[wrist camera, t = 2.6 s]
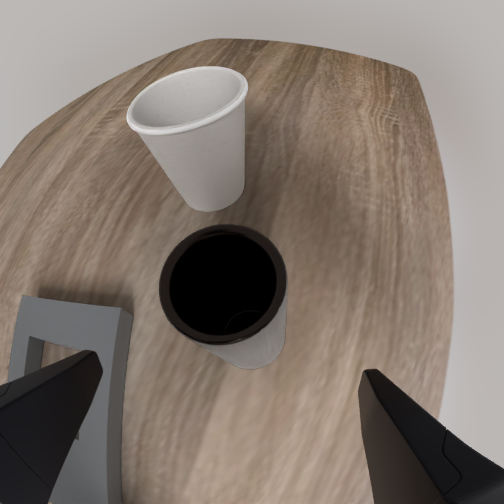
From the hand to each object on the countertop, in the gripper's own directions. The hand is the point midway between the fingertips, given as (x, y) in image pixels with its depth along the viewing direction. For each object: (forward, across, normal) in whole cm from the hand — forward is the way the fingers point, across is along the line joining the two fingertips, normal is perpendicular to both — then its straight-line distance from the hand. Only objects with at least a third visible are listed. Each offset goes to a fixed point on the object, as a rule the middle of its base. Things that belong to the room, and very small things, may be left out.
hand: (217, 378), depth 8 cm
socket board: (+4, +15, +10) cm, 19 cm away
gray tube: (+10, 0, +5) cm, 11 cm away
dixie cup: (+19, +4, -4) cm, 20 cm away
